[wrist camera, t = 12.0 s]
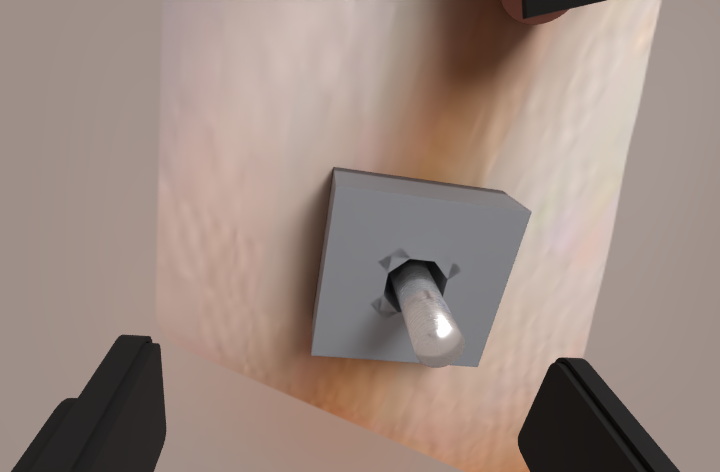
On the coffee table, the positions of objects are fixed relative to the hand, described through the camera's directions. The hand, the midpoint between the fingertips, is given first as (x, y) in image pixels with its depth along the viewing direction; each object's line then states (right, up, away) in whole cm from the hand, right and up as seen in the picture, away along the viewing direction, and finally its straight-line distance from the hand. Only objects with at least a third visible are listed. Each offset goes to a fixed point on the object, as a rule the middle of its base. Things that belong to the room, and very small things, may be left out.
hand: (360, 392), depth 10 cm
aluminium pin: (+4, +2, +24) cm, 25 cm away
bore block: (+4, +2, +25) cm, 26 cm away
